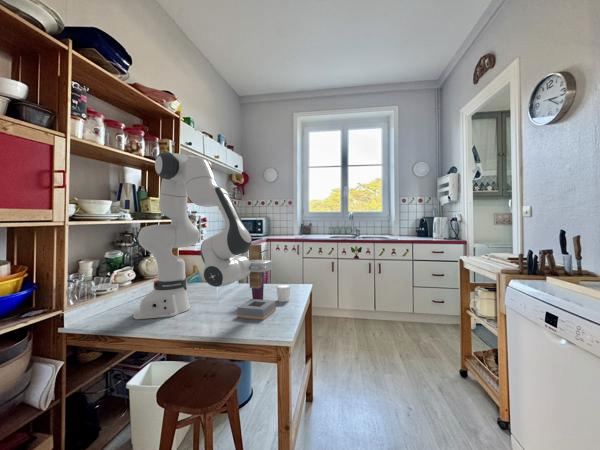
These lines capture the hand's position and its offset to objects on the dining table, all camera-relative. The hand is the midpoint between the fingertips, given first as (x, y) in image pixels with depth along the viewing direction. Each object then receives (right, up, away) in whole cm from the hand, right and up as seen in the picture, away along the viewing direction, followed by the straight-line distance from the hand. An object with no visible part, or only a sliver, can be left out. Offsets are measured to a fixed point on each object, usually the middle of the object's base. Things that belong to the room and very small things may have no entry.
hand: (256, 262), depth 113 cm
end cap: (0, -22, 0) cm, 22 cm away
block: (0, -11, -1) cm, 11 cm away
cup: (-2, -22, +17) cm, 28 cm away
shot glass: (+11, -22, +18) cm, 30 cm away
